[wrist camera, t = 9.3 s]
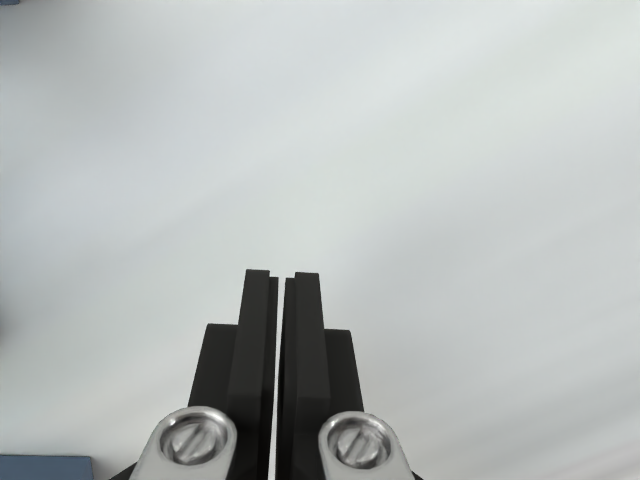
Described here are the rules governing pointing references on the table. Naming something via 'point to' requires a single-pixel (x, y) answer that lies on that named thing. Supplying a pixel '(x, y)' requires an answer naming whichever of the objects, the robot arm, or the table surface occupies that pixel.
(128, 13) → the table surface
